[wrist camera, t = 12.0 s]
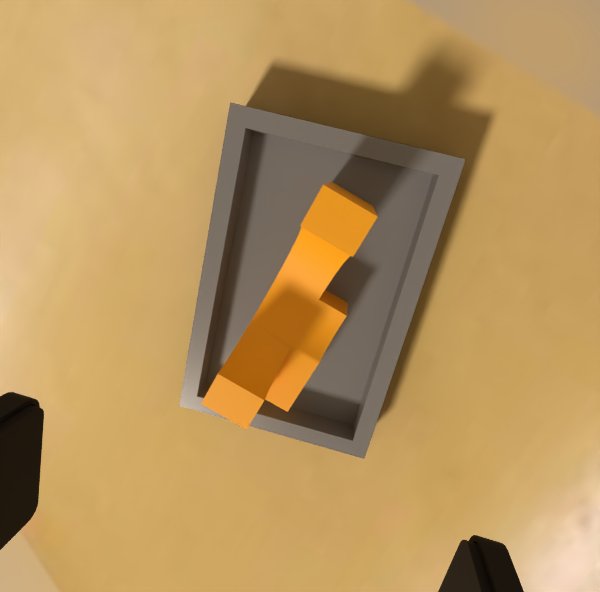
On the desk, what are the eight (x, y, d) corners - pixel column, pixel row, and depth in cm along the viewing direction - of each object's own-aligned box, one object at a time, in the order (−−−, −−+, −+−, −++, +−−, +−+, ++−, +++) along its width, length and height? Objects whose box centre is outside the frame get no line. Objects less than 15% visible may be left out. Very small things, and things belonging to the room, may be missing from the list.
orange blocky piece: (295, 384, 27) (277, 447, 21) (236, 351, 27) (200, 403, 21) (399, 221, 23) (414, 238, 17) (332, 181, 23) (323, 184, 17)
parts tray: (454, 160, 23) (465, 159, 20) (363, 434, 28) (364, 458, 26) (243, 109, 24) (230, 102, 21) (193, 386, 29) (179, 405, 27)
